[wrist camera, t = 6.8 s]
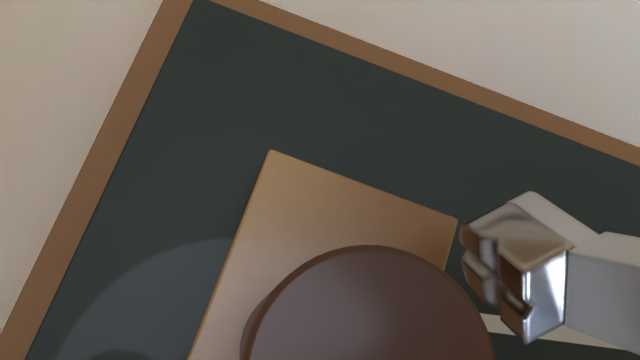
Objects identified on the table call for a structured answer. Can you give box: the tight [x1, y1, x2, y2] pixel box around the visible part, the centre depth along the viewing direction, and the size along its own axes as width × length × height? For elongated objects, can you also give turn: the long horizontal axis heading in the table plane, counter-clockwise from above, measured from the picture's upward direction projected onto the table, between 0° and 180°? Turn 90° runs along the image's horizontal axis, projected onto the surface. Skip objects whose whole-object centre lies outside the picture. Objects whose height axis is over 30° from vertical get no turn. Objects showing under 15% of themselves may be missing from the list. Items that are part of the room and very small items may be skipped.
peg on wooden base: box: [187, 150, 496, 360], centre depth 10 cm, size 5×8×8 cm, turn 161°
